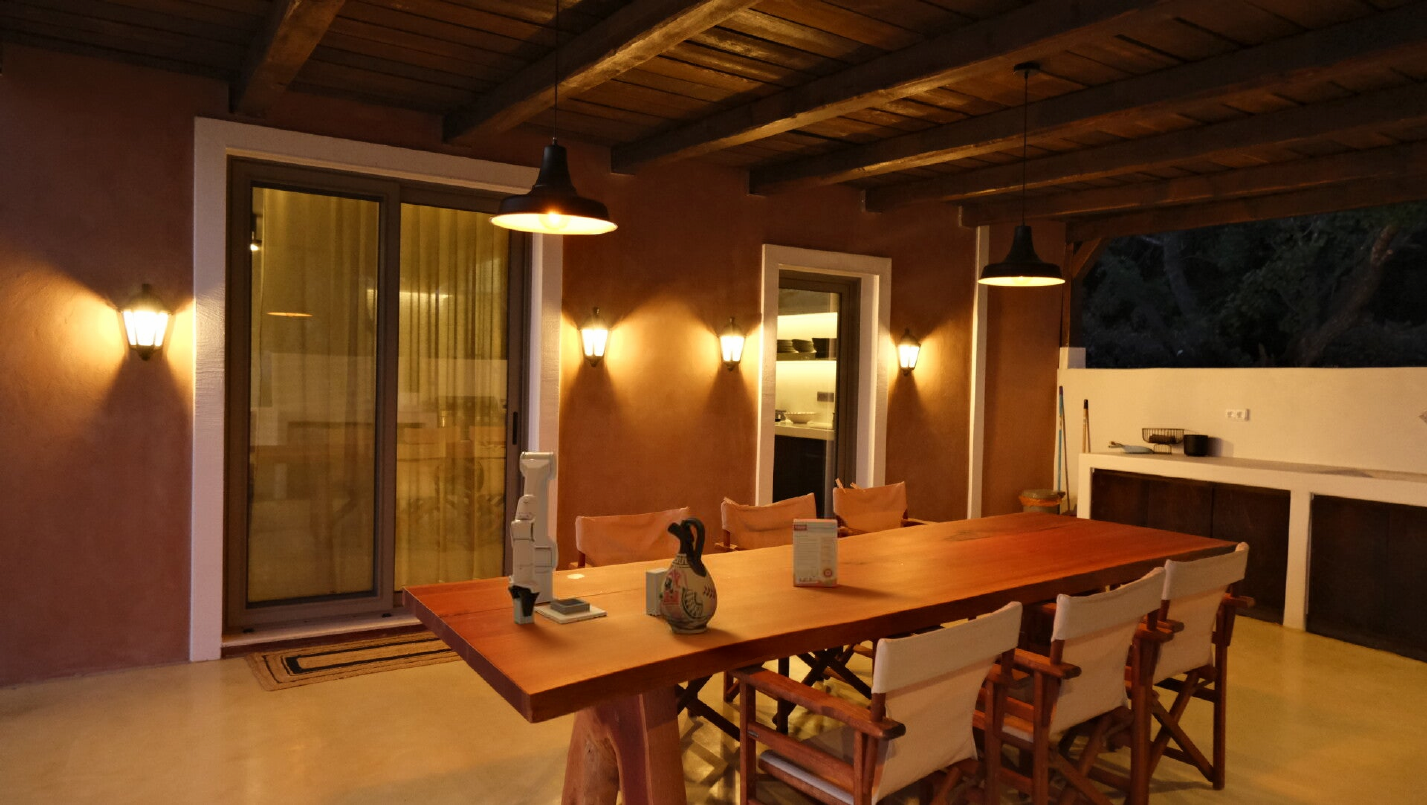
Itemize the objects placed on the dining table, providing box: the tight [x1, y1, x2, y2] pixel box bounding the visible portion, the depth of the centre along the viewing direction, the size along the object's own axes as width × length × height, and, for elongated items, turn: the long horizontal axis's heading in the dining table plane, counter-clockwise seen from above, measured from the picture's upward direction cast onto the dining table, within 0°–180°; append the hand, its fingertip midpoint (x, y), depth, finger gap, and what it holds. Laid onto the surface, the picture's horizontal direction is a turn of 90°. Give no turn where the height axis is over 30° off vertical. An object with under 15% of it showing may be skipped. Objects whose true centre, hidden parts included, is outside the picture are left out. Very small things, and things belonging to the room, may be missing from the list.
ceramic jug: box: [659, 517, 718, 636], centre depth 231 cm, size 17×15×30 cm
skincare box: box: [645, 567, 669, 617], centre depth 248 cm, size 6×4×12 cm
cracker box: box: [792, 518, 838, 588], centre depth 283 cm, size 14×6×21 cm, turn 84°
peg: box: [513, 598, 535, 625], centre depth 239 cm, size 4×4×6 cm
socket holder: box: [534, 597, 608, 625], centre depth 247 cm, size 16×14×3 cm
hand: (523, 614), depth 239 cm, fingers closed on peg, 4 cm apart
